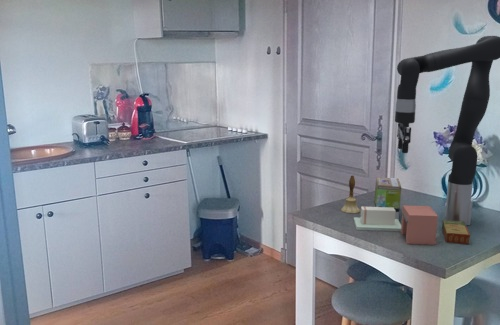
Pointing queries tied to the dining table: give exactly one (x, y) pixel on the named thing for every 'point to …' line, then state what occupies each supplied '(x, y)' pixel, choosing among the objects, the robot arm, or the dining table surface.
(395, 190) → the tea box
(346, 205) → the hand bell
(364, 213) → the white pink-banded block
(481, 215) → the dining table surface
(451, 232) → the carton
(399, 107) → the robot arm
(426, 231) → the salmon pink box
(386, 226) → the stub board
